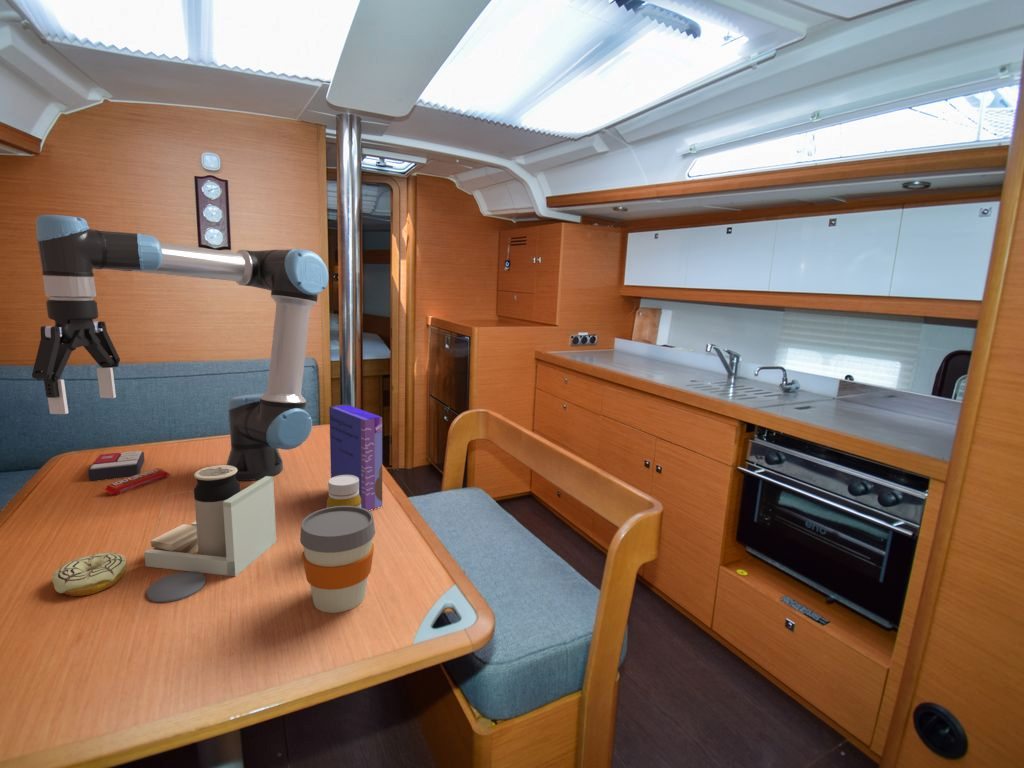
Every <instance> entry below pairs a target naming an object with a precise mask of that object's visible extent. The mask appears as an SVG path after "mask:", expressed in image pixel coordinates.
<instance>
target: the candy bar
mask: <svg viewBox="0 0 1024 768" xmlns="http://www.w3.org/2000/svg"><path fill="white" fill-rule="evenodd" d="M170 474H171V473H170V472H168V471H166V470H164V469H162V468H158V467H157V468H154V469H153V468H152V469H150V470H147V471H142V472H140V474H137V475H134V476H131V477H125V478H121V479H120V480H116V481H113V482H110V483H109V484H108V485H107V486H106V487H105V488H103V490H104V491H106V492H107V494H108V495H111V496H112V495H113V496H118V495H117V494H119V495H121V494H120V493H122V494H124V492H125V493H127V492H130V491H133V490H136V489H139V488H141V486H142V487H144V485H145V486H147V485H149V484H153V483H156V482H158V480H159V481H161V479H162V480H164V479H166V478H167V477H168V476H170ZM163 478H164V479H163ZM155 481H156V482H155ZM152 482H153V483H152ZM138 487H139V488H138ZM135 488H136V489H135ZM132 489H133V490H132ZM129 490H130V491H129Z"/></svg>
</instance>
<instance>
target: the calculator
mask: <svg viewBox="0 0 1024 768" xmlns="http://www.w3.org/2000/svg"><path fill="white" fill-rule="evenodd" d="M144 463H145V451H142V450H134V451H123V452H122V453H120V452H113V453H103V454H99V455H98V456H97V458H96V459H95V461H94V462H93V463H92V464H91V466H90V467H89V468H88V471H87V473H88V481H92V482H98V480H100V481H106V480H105V479H109V480H115V479H116V478H117V479H125V478H128V477H131V476H134V475H137V474H140V473H141V470H142V468H143V466H144ZM124 477H125V478H124ZM114 478H115V479H114Z"/></svg>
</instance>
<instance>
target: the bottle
mask: <svg viewBox="0 0 1024 768" xmlns="http://www.w3.org/2000/svg"><path fill="white" fill-rule="evenodd" d="M327 482H328V483H327V484H328V497H327V500H326V508H329V507H335V506H355V507H361V497H360V495H359V478H358V477H356V476H353V475H339V476H335V477H332V478H331V477H330V478H329V479H328V481H327Z"/></svg>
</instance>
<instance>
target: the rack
mask: <svg viewBox="0 0 1024 768" xmlns="http://www.w3.org/2000/svg"><path fill="white" fill-rule="evenodd" d="M274 485H275V484H274V476H265V477H264V478H262V479H258V480H257V481H255V482H254V483H252V484H250V485H249V486H248V487H246V488H244V489H241V490H240V492H239V493H237V494H235V495H234V496H232V497H230V498H229V499H227V500H225V501H224V502H223V511H224V527H225V542H226V557H217V556H208V555H199V553H193V554H190V553H181V552H171V551H162V550H153V548H151V549H150V548H149V549H147V550H146V551H144V553H143V554H144V562H145V564H144V565H145V567H149V568H157V569H158V568H159V569H166V570H176V571H182V572H199V573H201V574H211V575H217V576H218V575H220V576H228V577H236V576H238V575H239V574H241V572H242V571H244V570H245V569H246V568H247V567H249V566H250V565H251V564H252V563H253V562H255V561H256V560H257V559H258V558H259V557H260V556H262V555H263V554H264V553H265V552H266V551H268V550H269V549H270V548H271V547H273V546H274V545H275V544H277V532H276V531H277V529H276V528H277V527H276V526H277V525H276V507H275V491H274V490H275V486H274ZM190 525H191V526H196V520H194V522H191V523H190Z"/></svg>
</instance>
